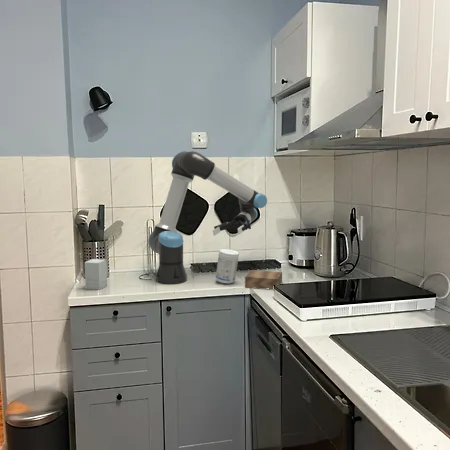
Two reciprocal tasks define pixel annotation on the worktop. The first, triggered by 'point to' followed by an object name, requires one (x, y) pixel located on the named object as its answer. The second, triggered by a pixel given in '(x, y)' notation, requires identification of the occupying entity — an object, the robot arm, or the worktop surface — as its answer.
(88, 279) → the supplement box
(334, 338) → the worktop surface
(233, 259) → the supplement tub
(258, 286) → the walnut block
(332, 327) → the worktop surface
